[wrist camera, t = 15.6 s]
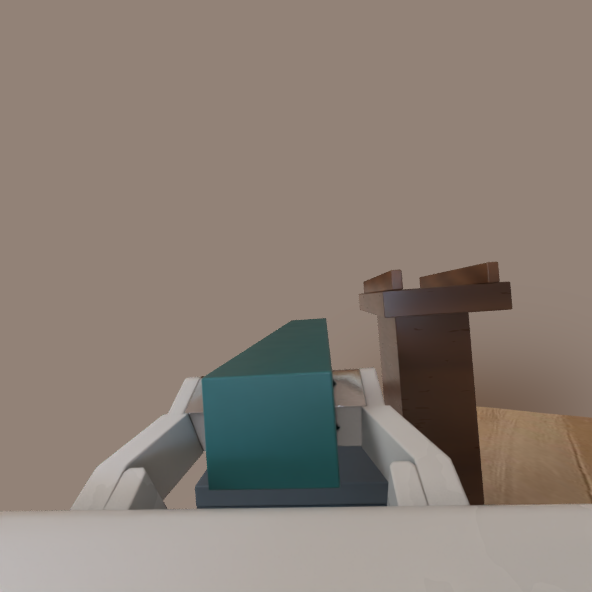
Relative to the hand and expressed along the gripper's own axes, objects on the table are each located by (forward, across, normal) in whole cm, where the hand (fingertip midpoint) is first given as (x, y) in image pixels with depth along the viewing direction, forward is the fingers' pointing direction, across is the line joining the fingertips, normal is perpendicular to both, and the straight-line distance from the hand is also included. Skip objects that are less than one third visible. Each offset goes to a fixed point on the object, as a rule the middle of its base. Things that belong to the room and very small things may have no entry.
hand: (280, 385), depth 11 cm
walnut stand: (+7, -11, +30) cm, 33 cm away
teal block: (+7, 0, +6) cm, 9 cm away
